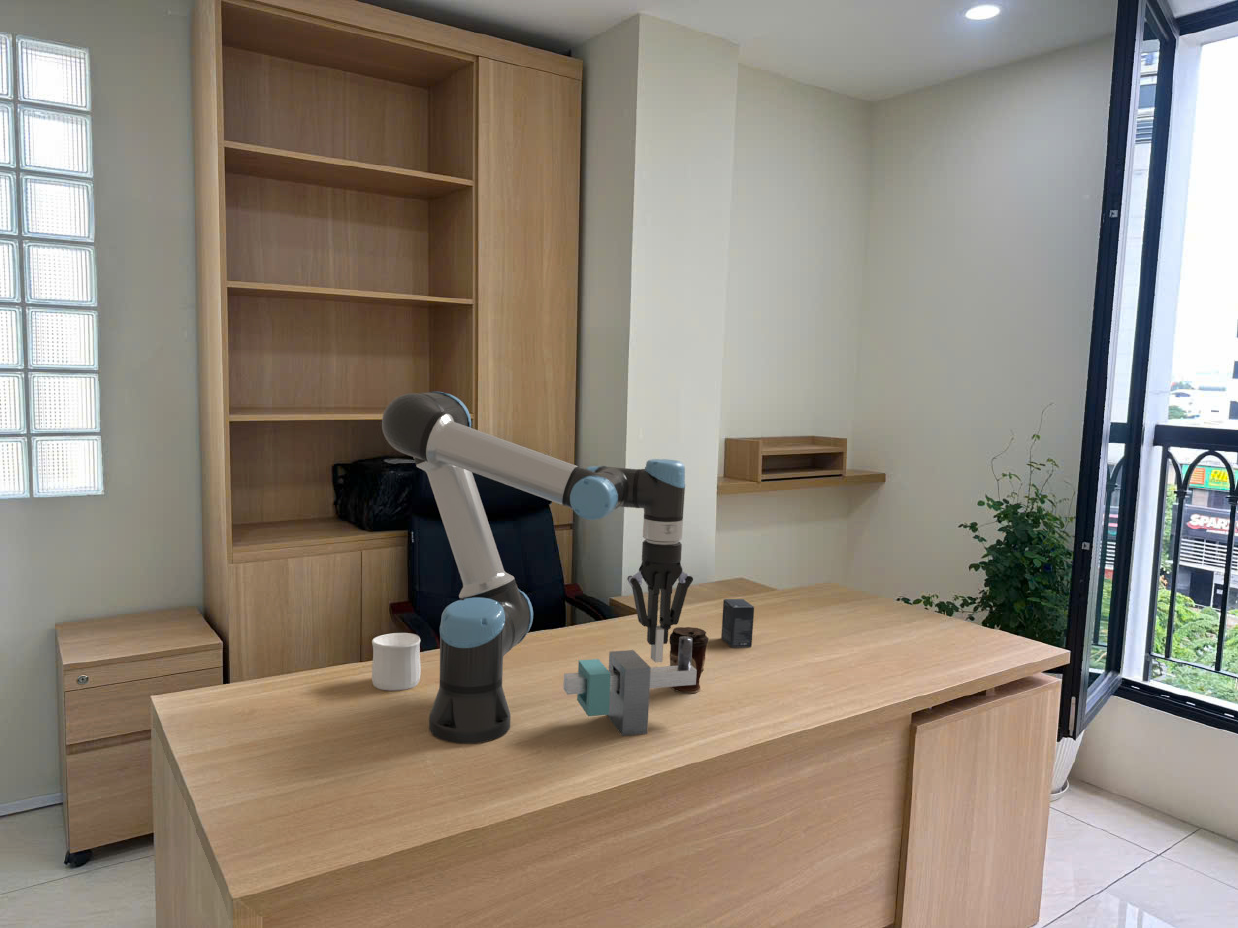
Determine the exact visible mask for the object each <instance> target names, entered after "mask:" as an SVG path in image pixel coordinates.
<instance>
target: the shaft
mask: <svg viewBox="0 0 1238 928" xmlns="http://www.w3.org/2000/svg"><path fill="white" fill-rule="evenodd" d="M692 641H693V638H691V637H688V636H682V637H679V653H678V666H670V665H668V666H654V667H653V666H650V667H651V670H650V689H658V688H670V687H671V688H672V687H673V686H685V685H696V674H697V670H696V669H695V668H694V667H693V666H692V665H691V659H692ZM607 670H608V671H609V672H610V673H611V677H610V691H619V690H620V672H619V671H618V670H609V669H607ZM563 691H564V692H565V694H566V695H567V696H571V695H577V694H583V693H587V679H586V677H585V676H584V675H583V673H582V672H579V673H578V672H568V673H567V672H566V673H563Z"/></svg>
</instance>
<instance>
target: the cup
mask: <svg viewBox="0 0 1238 928" xmlns="http://www.w3.org/2000/svg"><path fill="white" fill-rule="evenodd" d="M420 643H421V638H420V636H419V635H418V634H415V633H410V632H409V633H408V632H393V633H387V634H382V635H378V636H376V637H374V638H373V639H372V640H371V644H372V650H373V651H372V652H373V656H372V666H371V681H372V685H373V686H374V687H375V688H376V689H378V690H381V691H382V690H383V691H391V692H392V691H394V692H395V691H405V690H410V689H412V688H415V687H416V686H417V685H418V684H419V682H420V680H421V666H422V665H421V657H420V655H421V654H420V653H421V652H420V650H421V648H420V645H421V644H420Z"/></svg>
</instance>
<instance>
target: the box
mask: <svg viewBox="0 0 1238 928" xmlns="http://www.w3.org/2000/svg"><path fill="white" fill-rule="evenodd" d="M754 614H755V606H754V605H752V604H751V603H749V602H748V601H747V600H745V599H744V598H724V599H723V603H722V623H721V635H720V636H721V637H720V638H721V639H722V640H723V641H724V642H725V643H726V644H727V645H728V646H730V647H731V648H752V645H753V632H754V631H753V629H754V620H755V619H754V617H755V616H754Z"/></svg>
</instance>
